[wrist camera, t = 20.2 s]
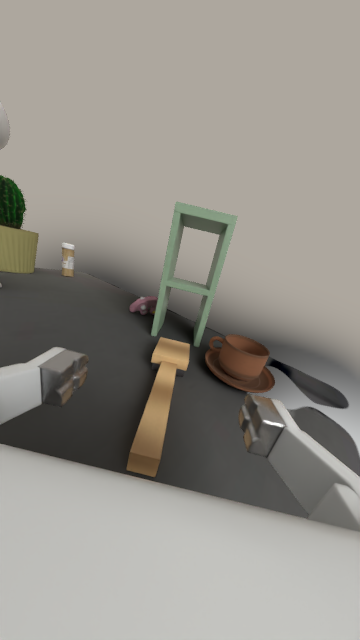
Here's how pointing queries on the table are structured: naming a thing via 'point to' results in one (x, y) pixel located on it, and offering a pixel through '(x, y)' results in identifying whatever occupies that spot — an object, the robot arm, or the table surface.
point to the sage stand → (181, 218)
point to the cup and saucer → (240, 363)
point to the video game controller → (144, 305)
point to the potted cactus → (15, 231)
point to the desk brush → (157, 406)
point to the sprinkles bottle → (68, 259)
